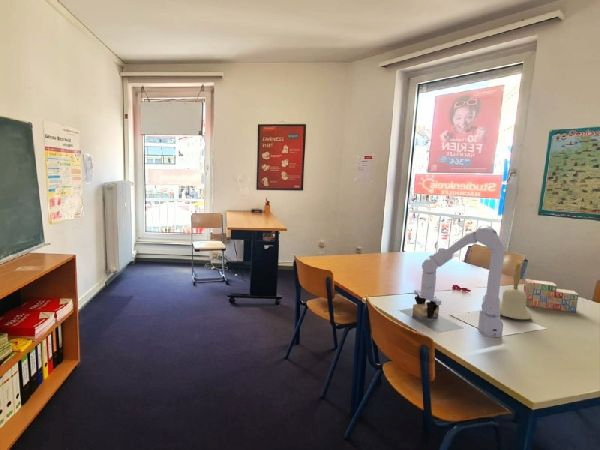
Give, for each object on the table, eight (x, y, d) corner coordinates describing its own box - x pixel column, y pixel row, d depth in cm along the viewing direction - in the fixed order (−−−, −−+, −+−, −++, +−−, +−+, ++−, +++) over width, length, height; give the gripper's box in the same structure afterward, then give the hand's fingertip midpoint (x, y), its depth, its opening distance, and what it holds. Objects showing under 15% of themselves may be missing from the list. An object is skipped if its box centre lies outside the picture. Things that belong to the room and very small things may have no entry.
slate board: (463, 330, 142) (463, 327, 142) (437, 335, 137) (438, 332, 137) (422, 309, 164) (422, 306, 164) (398, 312, 159) (398, 310, 158)
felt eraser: (429, 312, 157) (430, 302, 156) (438, 316, 152) (439, 306, 151) (412, 315, 153) (413, 304, 152) (420, 319, 148) (421, 308, 148)
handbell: (521, 325, 150) (529, 269, 146) (486, 313, 162) (493, 261, 159) (537, 318, 158) (545, 265, 155) (503, 307, 171) (509, 258, 167)
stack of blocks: (571, 308, 172) (575, 285, 171) (575, 313, 167) (579, 288, 165) (522, 301, 181) (525, 278, 179) (524, 305, 175) (527, 281, 173)
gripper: (409, 281, 156) (407, 309, 158) (433, 291, 142) (430, 322, 144) (421, 280, 158) (419, 308, 160) (446, 290, 145) (443, 320, 147)
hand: (425, 315), depth 153 cm, fingers closed on felt eraser, 5 cm apart
